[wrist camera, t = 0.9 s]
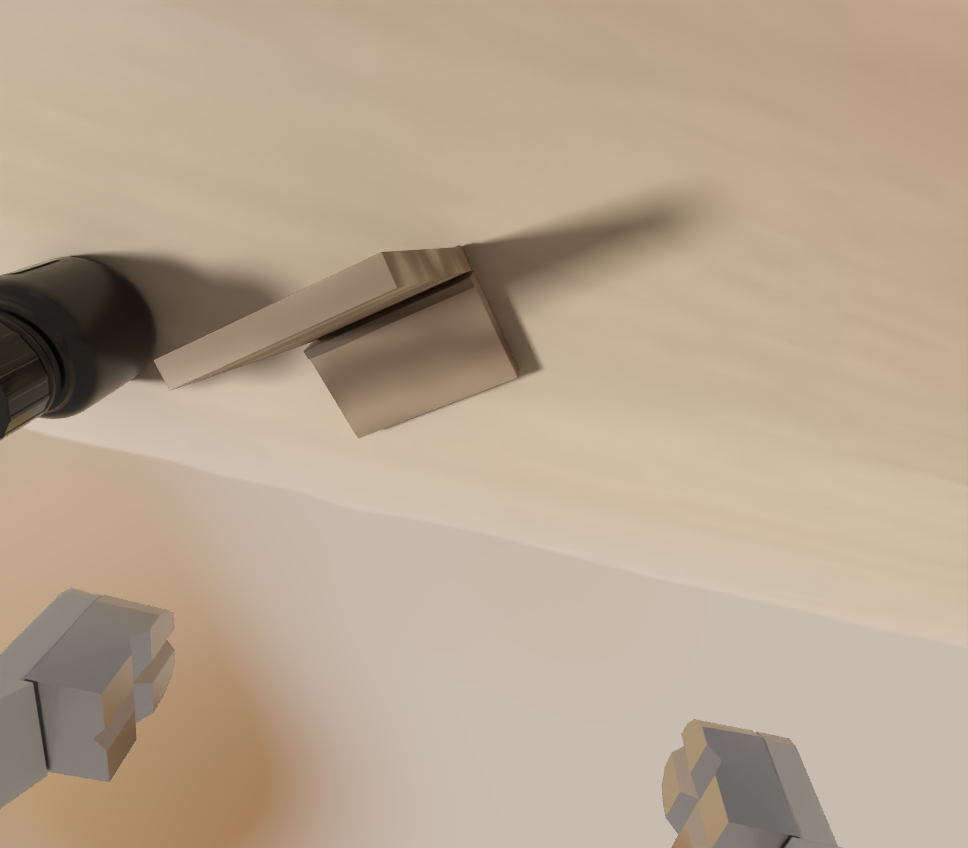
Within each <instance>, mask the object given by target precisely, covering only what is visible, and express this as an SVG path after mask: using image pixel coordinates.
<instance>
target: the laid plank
mask: <svg viewBox="0 0 968 848" xmlns="http://www.w3.org/2000/svg"><path fill="white" fill-rule="evenodd" d="M304 353H305V355H306V356H307V358H308V359H310V360H311V362H312V363H313V365H314V366H315V368H316V370H317V371H318V373H319V375H320V376H321V378H322V380H323V381H324V383H325V385H326V386H327V388H328V390H329V391H330V393H331V395H332V396H333V398H334V399H335V401H336V403H337V404H338V406H339V408H340V409H341V411H342V413H343V414H344V416H345V418H346V419H347V421H348V423H349V424H350V426H351V428H352V429H353V431H354V432H355V434H356V436H357V437H358V438H361V437H363V436H366V435H369V434H371V433H374V432H376V431H379V430H382V429H384V428H387V427H389V426H392V425H395V424H397V423H400V422H403V421H405V420H408V419H410V418H413V417H416V416H418V415H421V414H424V413H426V412H429V411H431V410H434V409H437V408H439V407H442V406H444V405H447V404H450V403H452V402H455V401H458V400H460V399H463V398H465V397H468V396H471V395H473V394H476V393H479V392H481V391H484V390H486V389H489V388H492V387H494V386H497V385H499V384H502V383H505V382H507V381H510V380H513V379H515V378H517V377H518V371H519V368H518V366H517V364H516V361H515V359H514V357H513V355H512V353H511V351H510V349H509V346H508V344H507V342H506V340H505V338H504V336H503V333H502V331H501V329H500V327H499V325H498V323H497V321H496V318H495V316H494V314H493V312H492V310H491V308H490V306H489V303H488V301H487V299H486V297H485V295H484V293H483V290H482V288H481V286H480V284H479V282H478V280H477V278H476V275H475V273H474V271H472V272H470V273H468V274H466V275H463V276H461V277H459V278H457V279H454V280H452V281H450V282H448V283H445V284H443V285H441V286H438V287H436V288H434V289H432V290H429V291H427V292H425V293H423V294H420V295H418V296H416V297H414V298H411V299H409V300H407V301H405V302H402V303H400V304H398V305H396V306H393V307H391V308H389V309H387V310H384V311H382V312H380V313H378V314H375V315H373V316H371V317H369V318H366V319H364V320H362V321H360V322H357V323H355V324H353V325H351V326H348V327H346V328H344V329H342V330H339V331H337V332H335V333H333V334H330V335H328V336H326V337H323V338H321V339H319V340H317V341H314V342H313V343H311V344H310V345H309V346H308V347H307V348H306V349H305V350H304Z"/></svg>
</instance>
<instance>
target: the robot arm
mask: <svg viewBox="0 0 968 848" xmlns="http://www.w3.org/2000/svg"><path fill="white" fill-rule="evenodd" d="M173 630H174V615H173V612H171V611H169V610H166V609H161V608H157V607H153V606H149V605H144V604H140V603H136V602H132V601H128V600H123V599H119V598H114V597H111V596H106V595H101V594H96V593H91V592H87V591H83V590H79V589H74V588H71V589H68V590H66V591H64V592H62V593H61V594H59V595H58V596H57V597H56V598H55V599H54V600H53V601H52V602H51V603H50V604H49V605H48V606H47V607H46V608H45V609H44V610H43V611H42V612H41V613H40V614H39V615H38V616H37V617H36V618H35V619H34V620H33V621H32V622H31V623H30V624H29V625H28V626H27V627H26V628H25V629H24V630H23V631H22V632H21V633H20V634H19V635H18V636H17V637H16V638H15V640H13V641H12V643H10V644H9V646H8V647H6V649H5V650H4V651H3V652H2V653H1V654H0V808H2V807H3V806H5V805H6V804H8V803H9V802H10V801H12V800H13V799H15V798H16V797H18V796H19V795H20V794H22V793H23V792H25V791H26V790H27V789H29V788H30V787H32V786H33V785H35V784H36V783H38V782H39V781H41V780H42V779H43V778H45V777H46V776H47V772H52V773H58V774H64V775H70V776H77V777H82V778H89V779H94V780H100V781H106V782H110V780H111V779H112V777H113V776H114V774H115V773H116V771H117V769H118V768H119V766H120V765H121V763H122V761H123V760H124V758H125V757H126V755H127V753H128V752H129V751H130V749H131V747H132V746H133V744H134V742H135V741H136V723H137V722H139V721H140V720H142V719H144V718H145V717H147V716H149V715H151V714H152V713H154V711H155V709H156V708H157V706H158V704H159V703H160V701H161V699H162V698H163V696H164V693H165V691H166V689H167V686H168V684H169V681H170V679H171V676H172V672H173V667H174V662H175V650H174V648H173V647H172V646H171V645H170V643H169V642H168V641H167V639H168V637H169V636H170V634H171V633H172V631H173ZM682 738H683V742H684V747H682V748H680V749H678V750H676V751H674V752H672V753H671V755H670V757H669V759H668V762H667V764H666V766H665V770H664V777H663V783H662V795H663V805H664V811H665V816H666V818H667V820H668V821H669V822H670V824H671V825H672V826H673V828H674V829H675V831H676V832H677V833H678V836H677V838H676V840H675V842H674V844H673V846H672V848H842V847H838V845H837V843H836V840H835V838H834V836H833V833H832V831H831V829H830V826H829V824H828V821H827V819H826V817H825V815H824V812H823V810H822V807H821V805H820V803H819V800H818V798H817V796H816V793H815V791H814V788H813V786H812V784H811V781H810V779H809V776H808V774H807V772H806V769H805V767H804V765H803V762H802V760H801V757H800V755H799V753H798V751H797V748H796V746H795V745H794V744H793V742H792V741H791V740H790V739H789V738H784V737H779V736H774V735H769V734H765V733H759V732H754V731H752V730H747V729H742V728H737V727H731V726H726V725H721V724H716V723H711V722H706V721H701V720H696V719H694V720H692V721H691V722H689V723H688V724H687V725H686V727H685V729H684V731H683V733H682Z"/></svg>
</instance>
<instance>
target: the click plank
mask: <svg viewBox="0 0 968 848" xmlns="http://www.w3.org/2000/svg"><path fill="white" fill-rule="evenodd" d="M470 271H472V270H471V268H470V265H469V263H468V261H467V258H466V256H465V253H464V251H463V248H462V247H461V246H456V247H454V248H440V249H424V250H408V251H392V252H381V253H378V254H376V255H374V256H372V257H370V258H368V259H366V260H364V261H362V262H360V263H357V264H355V265H353V266H351V267H349V268H347V269H345V270H343V271H341V272H338V273H336V274H334V275H332V276H330V277H328V278H326V279H324V280H322V281H320V282H317V283H315V284H313V285H311V286H309V287H307V288H305V289H303V290H301V291H298V292H296V293H294V294H292V295H290V296H288V297H286V298H284V299H282V300H279V301H277V302H275V303H273V304H271V305H269V306H267V307H265V308H263V309H261V310H258V311H256V312H254V313H252V314H250V315H248V316H246V317H244V318H242V319H239V320H237V321H235V322H233V323H231V324H229V325H227V326H225V327H223V328H221V329H218V330H216V331H214V332H212V333H210V334H208V335H206V336H204V337H202V338H199V339H197V340H195V341H193V342H191V343H189V344H187V345H185V346H183V347H180V348H178V349H176V350H174V351H172V352H170V353H168V354H166V355H164V356H162V357H159V358H157V359H155V360H154V362H155V364H156V366H157V368H158V370H159V372H160V374H161V375H162V377H163V379H164V381H165V383H166V385H167V387H168V389H169V391H170V390H173V389H176V388H179V387H182V386H185V385H188V384H191V383H193V382H196V381H199V380H202V379H205V378H208V377H211V376H214V375H217V374H220V373H223V372H225V371H228V370H231V369H234V368H237V367H240V366H243V365H246V364H249V363H252V362H255V361H258V360H260V359H263V358H266V357H269V356H272V355H275V354H278V353H281V352H284V351H287V350H290V349H292V348H295V347H298V346H301V345H304V344H307V343H310V342H312V341H314V340H317V339H319V338H321V337H323V336H326V335H328V334H330V333H332V332H335V331H337V330H339V329H341V328H344V327H346V326H348V325H350V324H353V323H355V322H357V321H359V320H362V319H364V318H366V317H368V316H371V315H373V314H375V313H377V312H380V311H382V310H384V309H386V308H389V307H391V306H393V305H395V304H398V303H400V302H402V301H404V300H407V299H409V298H411V297H413V296H416V295H418V294H420V293H422V292H425V291H427V290H429V289H431V288H434V287H436V286H438V285H440V284H443V283H445V282H447V281H450V280H452V279H454V278H456V277H459V276H461V275H463V274H465V273H468V272H470Z"/></svg>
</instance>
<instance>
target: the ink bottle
mask: <svg viewBox="0 0 968 848" xmlns="http://www.w3.org/2000/svg"><path fill="white" fill-rule="evenodd" d="M153 349H154V327H153V322H152V318H151V315H150V312H149V310H148V308H147V306H146V304H145V302H144V300H143V299H142V297H141V296H140V294H139V293H138V292H137V291H136V289H135V288H134V287H133V286H132V285H131V284H130V283H129V282H128V281H126V280H125V279H124V278H123V277H121V276H120V275H119V274H117V273H116V272H114V271H113V270H111V269H109V268H107V267H106V266H103V265H101V264H99V263H97V262H94V261H91V260H87V259H83V258H77V257H61V258H55V259H52V260H48V261H45V262H42V263H39V264H35V265H32V266H29V267H26V268H23V269H20V270H17V271H14V272H11V273H7V274H4V275H1V276H0V440H2V439H3V438H5V437H7V436H8V435H10V434H12V433H13V432H15V431H16V430H18V429H20V428H21V427H23V426H25V425H26V424H28V423H29V422H30V421H32V420H34V419H36V418H38V417H39V418H46V419H59V418H66V417H70V416H73V415H76V414H78V413H81V412H82V411H84V410H86V409H87V408H89V407H91V406H92V405H94V404H95V403H97V402H98V401H100V400H101V399H103V398H104V397H106V396H107V395H109V394H110V393H112V392H113V391H115V390H116V389H118V388H119V387H121V386H122V385H124V384H125V383H127V382H129V381H130V380H132V379H133V378H135V377H136V376H137V375H139V374H140V373H141V372H142V371H143V370H144V369H145V367H146V366H147V365H148V363H149V361H150V359H151V356H152V353H153Z"/></svg>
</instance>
